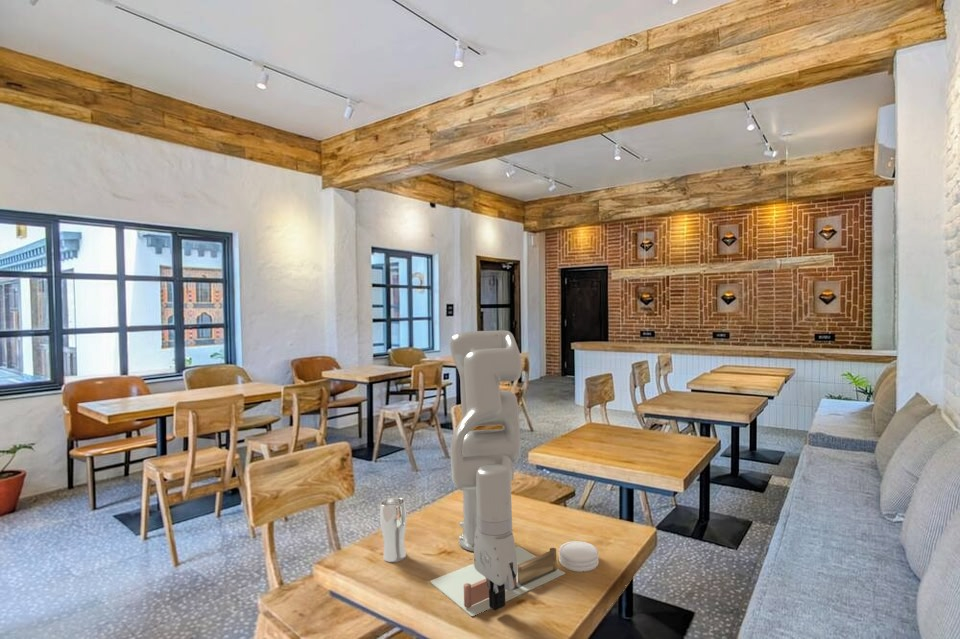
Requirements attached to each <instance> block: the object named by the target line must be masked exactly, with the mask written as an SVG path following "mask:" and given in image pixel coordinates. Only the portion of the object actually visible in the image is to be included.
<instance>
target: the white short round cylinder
mask: <svg viewBox="0 0 960 639" xmlns="http://www.w3.org/2000/svg"><path fill="white" fill-rule="evenodd" d="M558 553H559V554H558V557H559V559H558V561H559V563H560V565H561V566H562V567H564V569H567V570H570V571H573V572H581V573H582V572H583V571H584V572H589V571H592V570H594V569H596V568H597V567H598V566H599V562H600V561H599V550H598V548H597V547H596V546H595V545H593V544H591V543H589V542H585V541H580V540H575V541H567V542H565V543H563V544H561V545H560V547H559V549H558ZM584 572H583V573H584Z"/></svg>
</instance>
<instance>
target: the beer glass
mask: <svg viewBox="0 0 960 639" xmlns="http://www.w3.org/2000/svg"><path fill="white" fill-rule="evenodd" d="M379 504H380V506H379V523H380V530H381V534H382V535H381V536H382V539H383V545H384V546H383V555H382V556H383V557H382V558H383V560H384V561H385V562H386V563H387V562H388V563H398V562H400V561H403V560H405V558H406V557H407V551H406V549H405V535H406V530H407V529H406V528H407V508H406V500H405V499H404V498H402V497H388V498H385V499H382V500H381V501H380V503H379Z"/></svg>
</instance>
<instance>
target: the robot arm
mask: <svg viewBox="0 0 960 639" xmlns="http://www.w3.org/2000/svg"><path fill="white" fill-rule="evenodd" d="M449 340H450V341H449V347H450V353H451V357H452V359H453V361H454V365H455V367H456V369H457V371H458V374H459V380H460V401H461V402H460V403H461V416H462V419H461V420H460V421H459V422H458V424H457V426H456V427H455V429H454V431H453V434H452V437H451V440H450V441H451V442H450V464H451V465H450V467H451V469H450V470H451V479H452V483H453V486H454V487H455V488H456V489H457V490H459V491H462V504H463V505H462V508H463V509H462V510H463V521H460V522H459V526H460V527H461V528H462V533H461V534H460V535H459V537H458V544H459V546H460V547H461V548H463V549H464V550H467V551H470V552H473V564H474V567H475V569H476V570H477V571H478V572H479V573H480V574H482V575H483V576H485V577H486V581H487V587H488V589H490V590H489V607H490V608H491V609H492V610H493V611H497V610H499V609H502V608H504V607H505V606H506V602H505V589H506V590H512V589H514V582H513V579H516V576H517V559H516V549H515V547H516V544H515V537H514V533H513V513H512V512H513V511H512V508H513V507H512V480H513V479H514V476H515V468H514V463H516V462H517V461H518V460H519V459H520V455H521V431H520V429H521V428H520V412H519V403H518V399H517V396H516V395H515V393H514V392H513V391H510V390H503V389H502V390H500V389H501V388H500V382H516V381H518V380H519V379H520V378H521V377H522V372H523V366H522V365H523V363H522V358H521V352H520V350H519V348H518V344H517V342H516V339H515V337H514V334H513V333H512V332H511V331H509V330H477V331H476V330H475V331H474V330H472V331H463V332H458V333H455V334H453V335H452V336H451V338H450V339H449ZM483 426H502V428H496V429H477V430H474V429H475V428H476V427H483Z"/></svg>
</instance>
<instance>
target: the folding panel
mask: <svg viewBox="0 0 960 639" xmlns="http://www.w3.org/2000/svg"><path fill="white" fill-rule="evenodd" d="M513 582H514V587H516V586H517V578H516V579H513ZM489 590H490V589H488V587H487V581H486V579H484V580H481V581H479V582H477V583H474V584H472V585H471V584H469V583H466V584H464V607H466V608H469V607H471V606H472V605H474V604H476V603H478V602H481V601H483V600H485V599H487V598H489ZM505 590H506V589H505Z"/></svg>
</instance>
